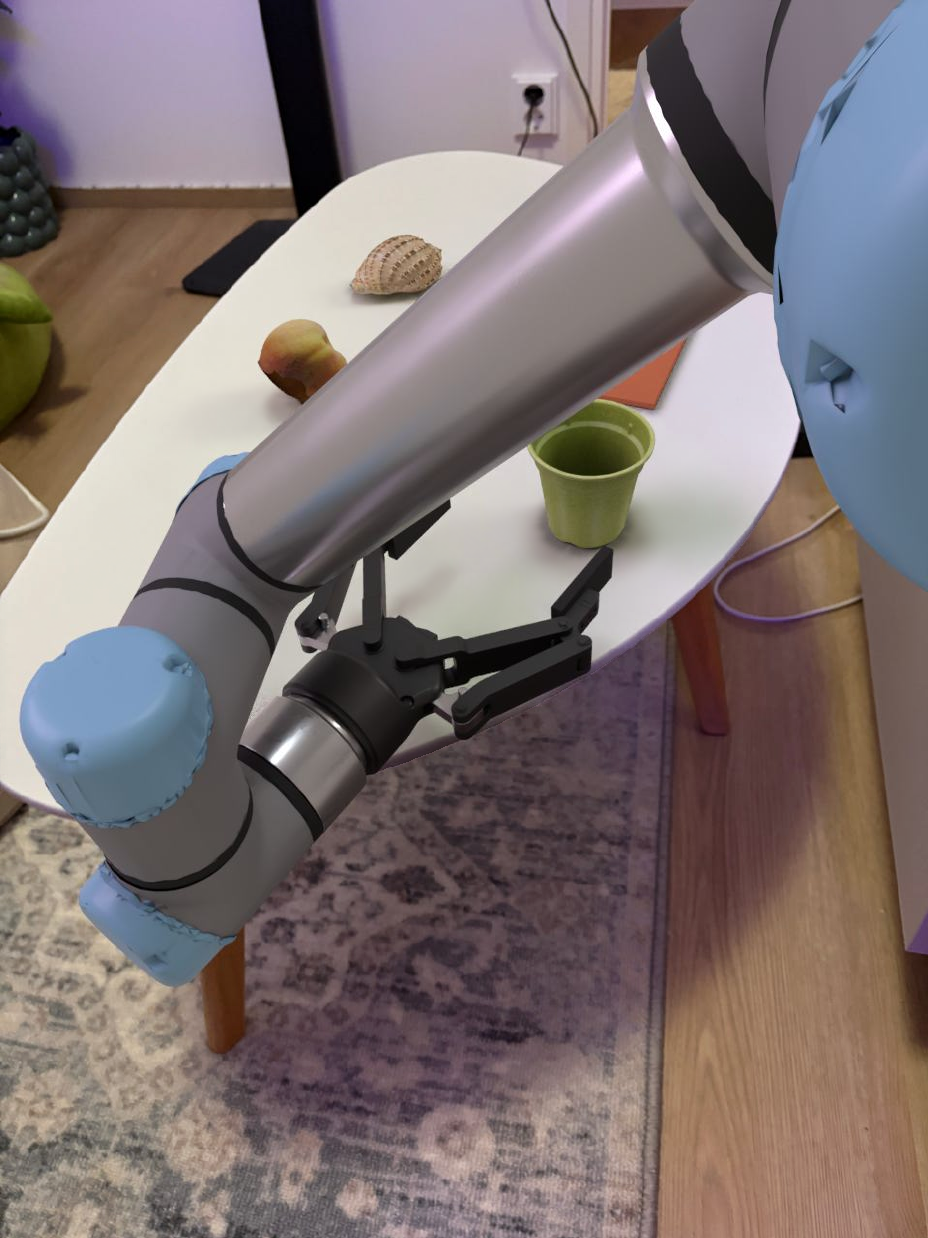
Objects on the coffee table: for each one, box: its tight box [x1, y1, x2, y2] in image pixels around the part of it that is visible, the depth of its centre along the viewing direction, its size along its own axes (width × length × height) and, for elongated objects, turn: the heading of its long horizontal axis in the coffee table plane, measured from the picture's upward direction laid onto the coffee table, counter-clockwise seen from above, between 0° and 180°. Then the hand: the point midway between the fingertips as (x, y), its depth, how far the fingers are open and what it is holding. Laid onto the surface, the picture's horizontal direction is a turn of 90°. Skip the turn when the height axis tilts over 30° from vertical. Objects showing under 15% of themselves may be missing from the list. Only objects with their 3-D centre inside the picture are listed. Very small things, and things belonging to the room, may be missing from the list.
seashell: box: [349, 234, 443, 296], centre depth 101 cm, size 8×6×10 cm
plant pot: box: [526, 399, 656, 549], centre depth 72 cm, size 9×9×9 cm
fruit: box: [257, 318, 348, 406], centre depth 86 cm, size 8×8×8 cm
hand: (523, 524), depth 66 cm, fingers open, 13 cm apart
